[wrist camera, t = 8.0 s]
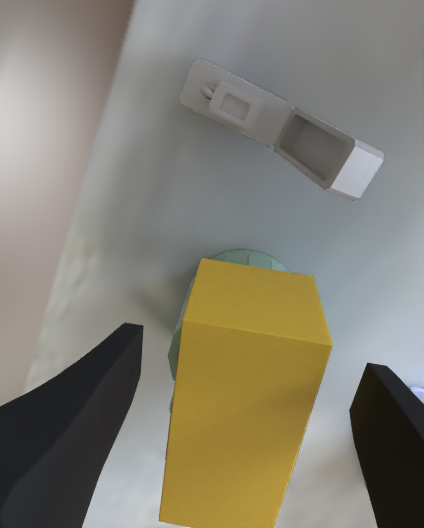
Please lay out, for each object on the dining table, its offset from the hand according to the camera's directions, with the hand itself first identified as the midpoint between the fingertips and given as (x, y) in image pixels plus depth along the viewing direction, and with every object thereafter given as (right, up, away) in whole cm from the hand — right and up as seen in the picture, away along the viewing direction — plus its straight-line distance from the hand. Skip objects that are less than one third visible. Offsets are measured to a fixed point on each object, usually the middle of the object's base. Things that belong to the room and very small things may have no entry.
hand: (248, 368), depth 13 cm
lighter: (+2, +11, +7) cm, 13 cm away
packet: (0, -1, +5) cm, 6 cm away
